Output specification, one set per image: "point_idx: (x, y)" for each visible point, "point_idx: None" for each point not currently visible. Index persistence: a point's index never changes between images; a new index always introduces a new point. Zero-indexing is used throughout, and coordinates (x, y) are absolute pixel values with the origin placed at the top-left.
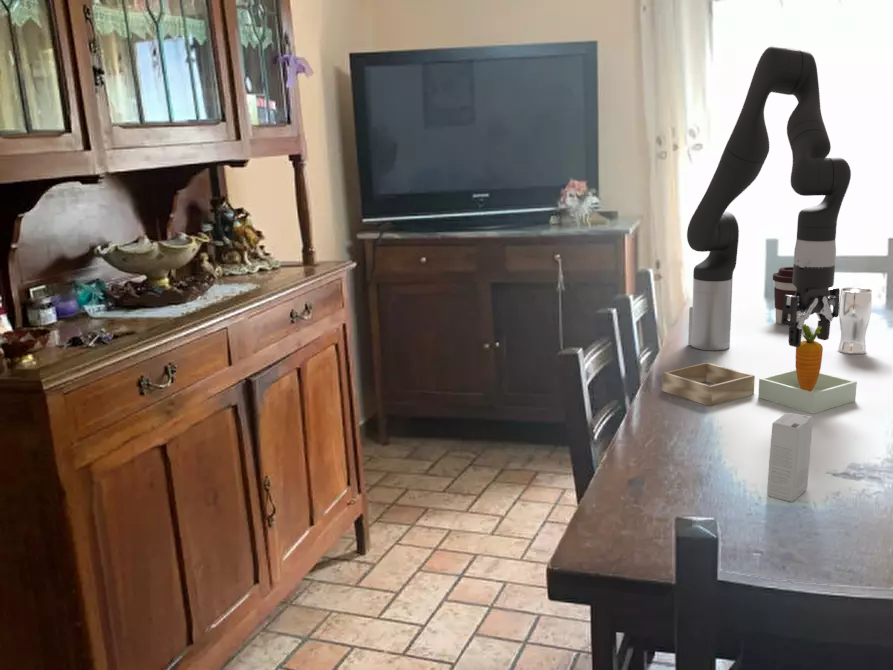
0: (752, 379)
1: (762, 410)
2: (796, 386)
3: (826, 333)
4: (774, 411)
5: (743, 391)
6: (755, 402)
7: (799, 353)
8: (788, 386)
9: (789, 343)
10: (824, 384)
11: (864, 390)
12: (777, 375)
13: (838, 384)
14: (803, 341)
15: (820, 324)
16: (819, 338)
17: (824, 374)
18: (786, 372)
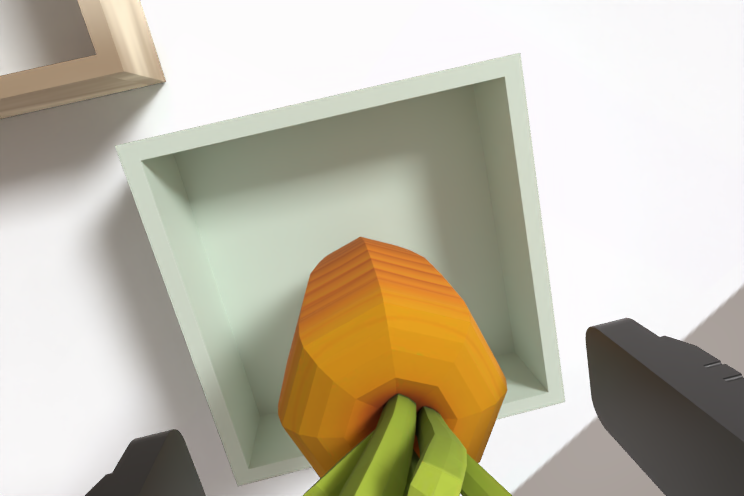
0: (113, 77)
1: (67, 313)
2: (428, 105)
3: (639, 461)
4: (113, 343)
5: (66, 98)
6: (99, 201)
7: (283, 381)
8: (191, 345)
9: (135, 445)
10: (506, 228)
11: (674, 252)
12: (273, 129)
13: (524, 310)
14: (357, 392)
15: (707, 447)
16: (590, 347)
17: (529, 235)
18: (363, 103)
